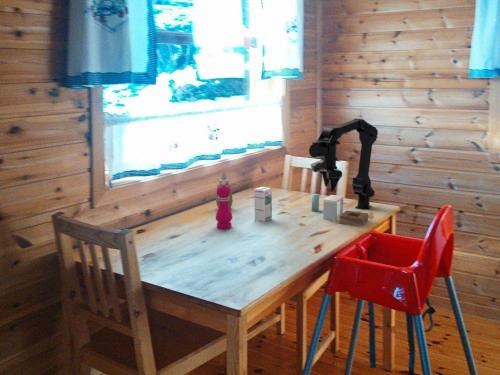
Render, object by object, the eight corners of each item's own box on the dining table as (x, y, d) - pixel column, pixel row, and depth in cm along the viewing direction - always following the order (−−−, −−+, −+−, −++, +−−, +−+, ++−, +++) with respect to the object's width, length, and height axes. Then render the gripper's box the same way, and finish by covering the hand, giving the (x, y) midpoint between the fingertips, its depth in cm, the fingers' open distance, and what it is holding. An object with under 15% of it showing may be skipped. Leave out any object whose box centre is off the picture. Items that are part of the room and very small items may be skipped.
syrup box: (264, 221, 248) (264, 190, 245) (254, 219, 251) (253, 188, 248) (271, 219, 252) (272, 187, 249) (261, 216, 256) (261, 186, 253)
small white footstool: (330, 213, 261) (331, 194, 259) (342, 214, 259) (343, 196, 256) (323, 218, 253) (323, 199, 250) (335, 220, 250) (336, 201, 248)
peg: (313, 209, 268) (313, 193, 266) (319, 210, 266) (320, 194, 265) (310, 211, 265) (310, 194, 263) (317, 212, 263) (317, 195, 262)
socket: (346, 217, 254) (346, 210, 253) (367, 220, 249) (368, 213, 248) (339, 223, 245) (339, 216, 244) (361, 226, 241) (362, 218, 240)
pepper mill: (230, 229, 237) (229, 184, 232) (213, 229, 238) (212, 183, 233) (234, 225, 243) (233, 180, 239) (218, 224, 245) (217, 179, 240)
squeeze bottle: (213, 207, 271) (212, 171, 267) (228, 206, 275) (228, 170, 270) (219, 211, 264) (219, 174, 260) (235, 209, 267) (235, 173, 263)
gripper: (307, 152, 258) (306, 184, 262) (318, 159, 240) (317, 194, 244) (330, 151, 260) (329, 183, 264) (343, 158, 242) (342, 193, 246)
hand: (329, 188), depth 254 cm, fingers open, 9 cm apart
